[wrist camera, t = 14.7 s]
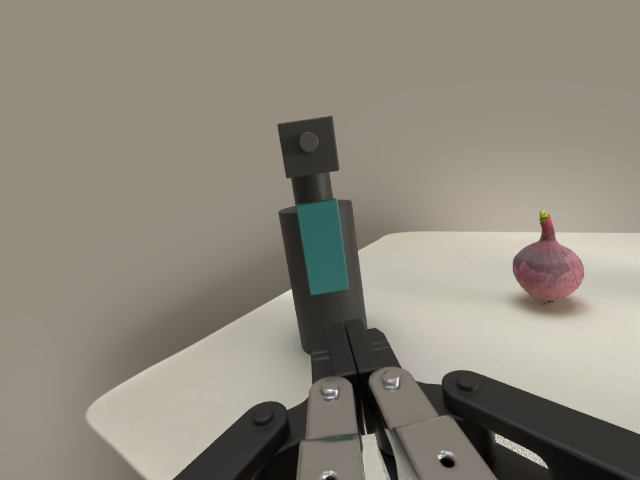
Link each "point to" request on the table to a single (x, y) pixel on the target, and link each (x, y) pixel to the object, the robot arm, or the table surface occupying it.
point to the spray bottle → (308, 185)
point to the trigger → (322, 246)
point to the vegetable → (548, 266)
